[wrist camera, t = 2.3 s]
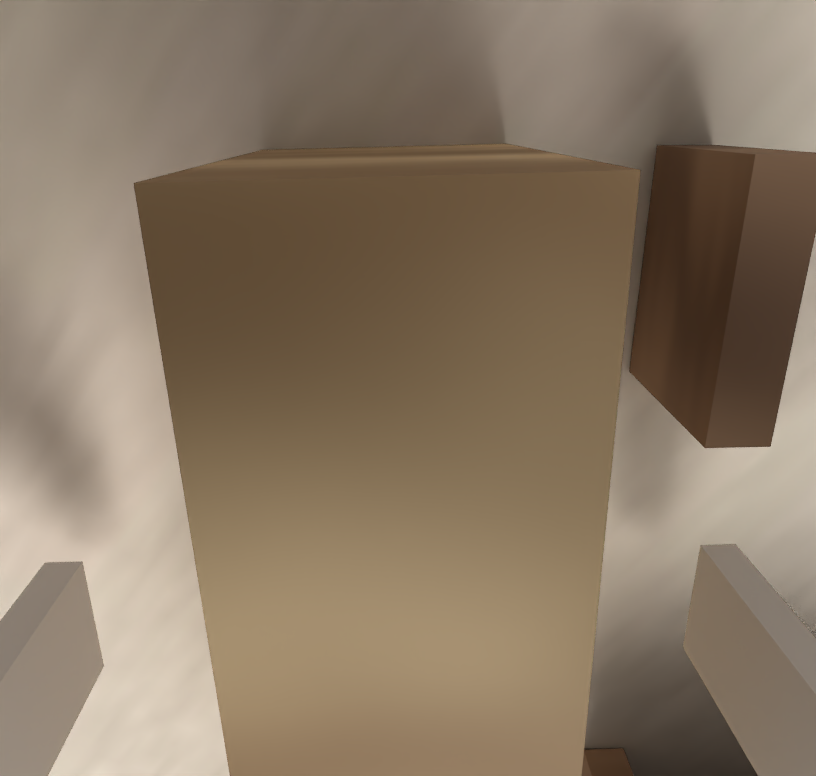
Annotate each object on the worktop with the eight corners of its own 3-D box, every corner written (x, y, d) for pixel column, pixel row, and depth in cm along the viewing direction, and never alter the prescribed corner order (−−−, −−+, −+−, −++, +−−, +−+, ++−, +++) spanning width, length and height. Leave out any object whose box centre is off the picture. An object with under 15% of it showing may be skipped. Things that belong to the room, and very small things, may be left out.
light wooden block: (264, 149, 14) (133, 183, 7) (504, 143, 14) (640, 169, 7) (318, 729, 20) (281, 1091, 13) (488, 720, 20) (552, 1074, 13)
